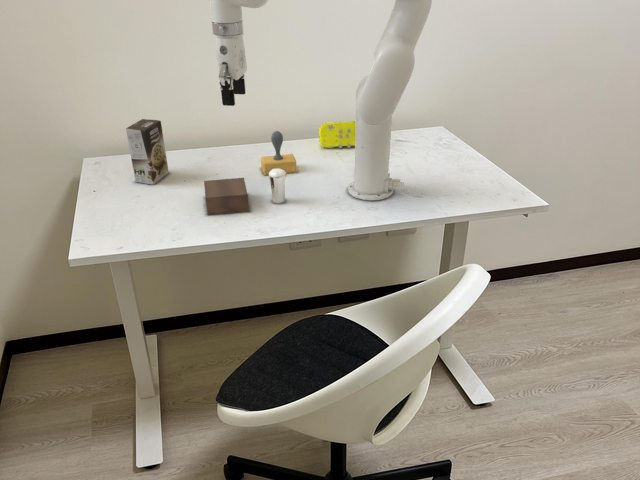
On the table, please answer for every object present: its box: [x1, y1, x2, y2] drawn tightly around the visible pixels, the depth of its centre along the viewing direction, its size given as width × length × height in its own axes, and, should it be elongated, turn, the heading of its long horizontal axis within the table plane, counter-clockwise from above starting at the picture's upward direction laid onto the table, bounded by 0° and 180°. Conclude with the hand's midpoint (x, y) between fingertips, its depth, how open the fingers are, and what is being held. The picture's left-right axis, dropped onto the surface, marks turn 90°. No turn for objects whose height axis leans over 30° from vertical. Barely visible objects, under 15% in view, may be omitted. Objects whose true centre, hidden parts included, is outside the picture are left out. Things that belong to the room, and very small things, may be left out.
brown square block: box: [203, 177, 250, 216], centre depth 169 cm, size 11×11×5 cm
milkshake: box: [268, 168, 287, 205], centre depth 169 cm, size 5×5×10 cm
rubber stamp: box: [260, 130, 298, 176], centre depth 185 cm, size 10×6×12 cm, turn 103°
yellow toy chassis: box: [318, 120, 356, 150], centre depth 202 cm, size 16×6×8 cm, turn 97°
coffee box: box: [125, 118, 170, 185], centre depth 180 cm, size 9×6×16 cm
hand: (234, 99), depth 163 cm, fingers open, 9 cm apart
